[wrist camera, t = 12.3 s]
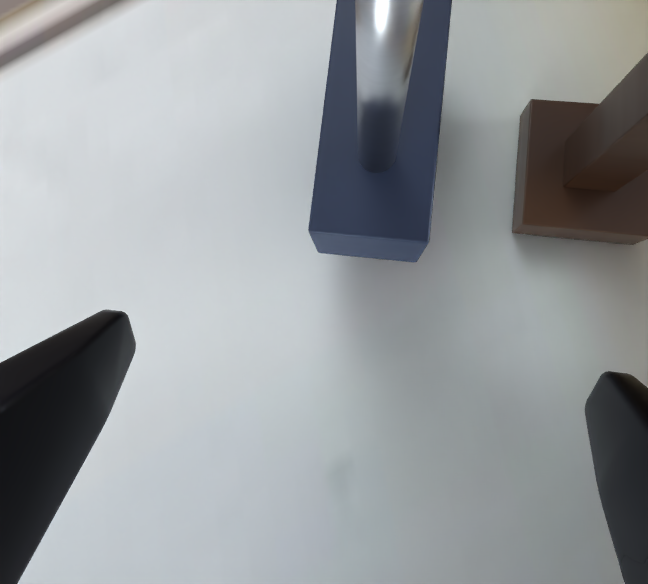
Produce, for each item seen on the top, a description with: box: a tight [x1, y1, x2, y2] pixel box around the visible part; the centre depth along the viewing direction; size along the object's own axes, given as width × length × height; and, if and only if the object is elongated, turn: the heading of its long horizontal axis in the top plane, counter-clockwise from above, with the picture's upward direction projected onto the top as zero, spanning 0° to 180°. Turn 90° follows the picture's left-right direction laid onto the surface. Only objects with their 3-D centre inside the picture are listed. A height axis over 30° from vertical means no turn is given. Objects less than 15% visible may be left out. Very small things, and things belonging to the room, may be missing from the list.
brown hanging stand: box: [512, 53, 648, 245], centre depth 12 cm, size 5×13×13 cm, turn 83°
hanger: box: [308, 0, 452, 262], centre depth 11 cm, size 9×4×12 cm, turn 173°
